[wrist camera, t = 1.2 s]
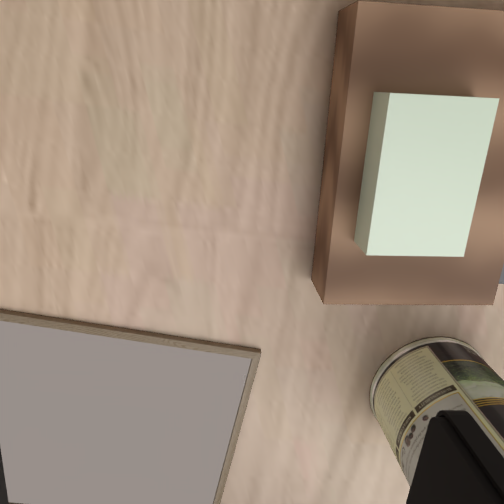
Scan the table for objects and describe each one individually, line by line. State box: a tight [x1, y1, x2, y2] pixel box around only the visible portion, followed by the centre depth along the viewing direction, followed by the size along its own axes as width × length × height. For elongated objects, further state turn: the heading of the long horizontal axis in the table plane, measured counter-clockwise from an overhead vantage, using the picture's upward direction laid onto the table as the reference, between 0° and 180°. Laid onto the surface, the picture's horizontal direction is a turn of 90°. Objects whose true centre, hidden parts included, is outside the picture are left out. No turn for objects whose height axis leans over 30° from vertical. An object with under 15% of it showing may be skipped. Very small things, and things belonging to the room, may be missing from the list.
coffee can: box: [370, 337, 504, 487], centre depth 32 cm, size 10×10×14 cm
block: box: [354, 92, 500, 257], centre depth 27 cm, size 9×6×2 cm, turn 177°
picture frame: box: [0, 309, 261, 504], centre depth 37 cm, size 19×1×28 cm
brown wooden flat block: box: [311, 1, 504, 305], centre depth 30 cm, size 18×12×4 cm, turn 177°
